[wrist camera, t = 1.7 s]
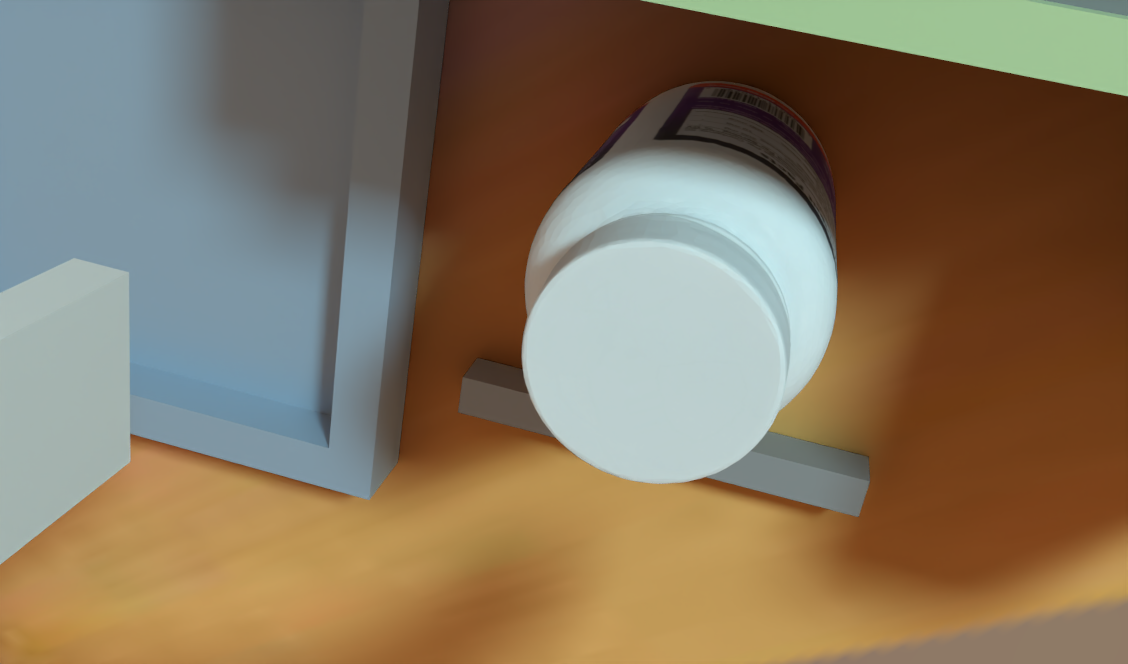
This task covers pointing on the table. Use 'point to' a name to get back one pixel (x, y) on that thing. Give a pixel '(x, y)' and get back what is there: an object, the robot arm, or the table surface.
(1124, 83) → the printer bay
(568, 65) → the table surface
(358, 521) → the table surface
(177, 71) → the tray
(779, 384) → the pill bottle
